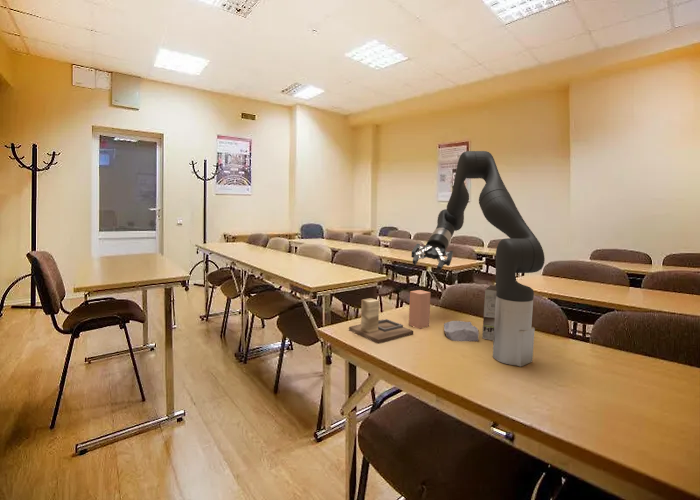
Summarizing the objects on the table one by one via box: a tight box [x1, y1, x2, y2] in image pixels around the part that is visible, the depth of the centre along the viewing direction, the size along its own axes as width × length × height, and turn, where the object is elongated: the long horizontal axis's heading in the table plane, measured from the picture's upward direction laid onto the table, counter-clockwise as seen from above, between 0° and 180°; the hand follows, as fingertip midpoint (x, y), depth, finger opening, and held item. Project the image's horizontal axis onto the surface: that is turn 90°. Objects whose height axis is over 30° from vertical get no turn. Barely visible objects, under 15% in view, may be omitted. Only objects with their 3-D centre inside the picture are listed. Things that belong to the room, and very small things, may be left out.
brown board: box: [348, 319, 414, 345], centre depth 124 cm, size 15×15×1 cm
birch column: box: [360, 297, 380, 333], centre depth 122 cm, size 4×4×10 cm
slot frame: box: [378, 318, 404, 332], centre depth 126 cm, size 8×8×1 cm
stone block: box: [443, 320, 480, 342], centre depth 122 cm, size 12×5×10 cm
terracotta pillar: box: [408, 289, 431, 329], centre depth 131 cm, size 5×5×12 cm
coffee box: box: [481, 284, 496, 341], centre depth 120 cm, size 9×6×16 cm
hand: (426, 266), depth 132 cm, fingers open, 8 cm apart
